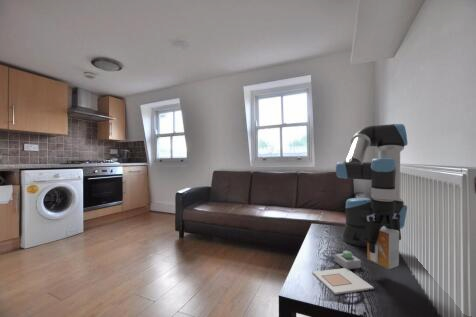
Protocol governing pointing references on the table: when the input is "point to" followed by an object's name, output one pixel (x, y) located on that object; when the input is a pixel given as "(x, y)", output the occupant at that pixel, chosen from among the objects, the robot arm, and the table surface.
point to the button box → (347, 261)
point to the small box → (387, 248)
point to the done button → (347, 255)
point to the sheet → (342, 281)
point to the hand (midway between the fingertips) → (382, 259)
